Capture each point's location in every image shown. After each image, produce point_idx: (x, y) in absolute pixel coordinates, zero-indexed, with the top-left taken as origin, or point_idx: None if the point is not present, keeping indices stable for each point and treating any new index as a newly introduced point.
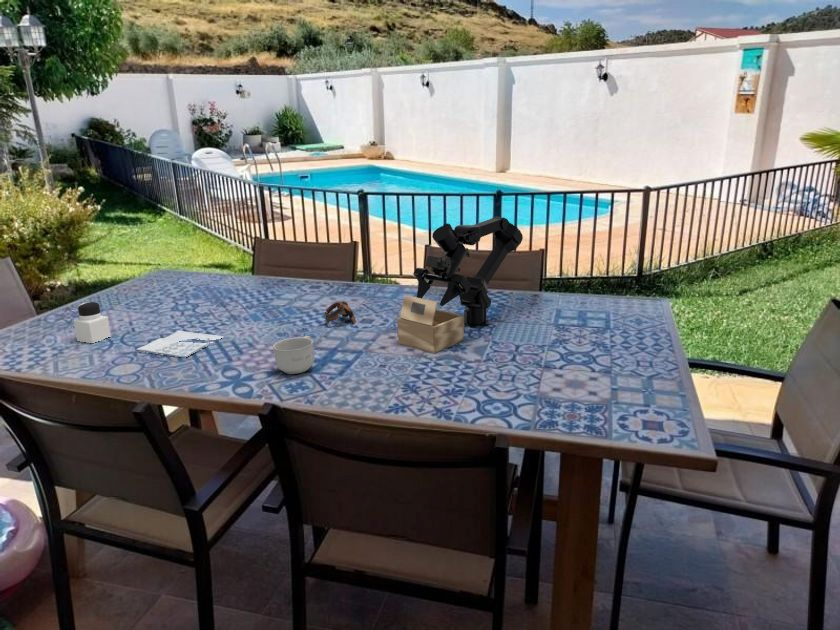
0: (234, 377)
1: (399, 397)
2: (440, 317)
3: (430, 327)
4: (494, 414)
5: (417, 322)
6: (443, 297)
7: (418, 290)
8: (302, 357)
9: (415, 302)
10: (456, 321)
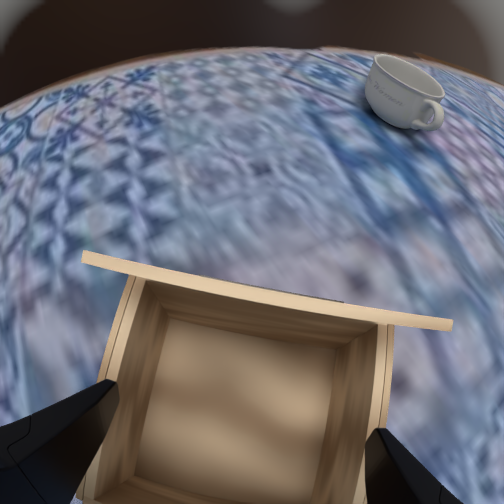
0: None
1: (149, 91)
2: None
3: None
4: (13, 123)
5: (340, 454)
6: (72, 411)
7: (425, 478)
8: (369, 72)
9: (312, 296)
10: None
